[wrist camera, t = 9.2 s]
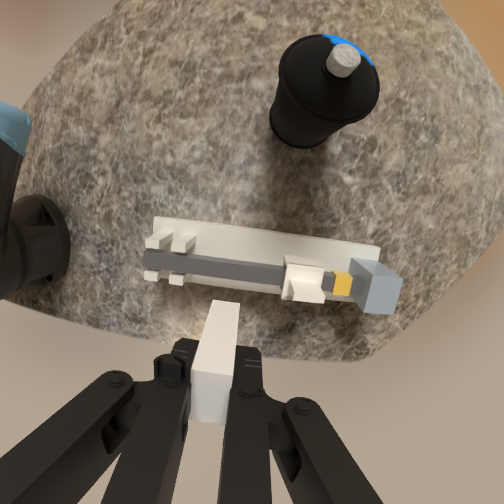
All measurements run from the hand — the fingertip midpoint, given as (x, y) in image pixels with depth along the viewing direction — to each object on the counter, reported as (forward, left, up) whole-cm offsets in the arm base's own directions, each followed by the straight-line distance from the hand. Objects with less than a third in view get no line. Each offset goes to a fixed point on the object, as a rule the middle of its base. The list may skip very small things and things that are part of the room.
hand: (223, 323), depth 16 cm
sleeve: (+7, -2, -18) cm, 20 cm away
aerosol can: (+5, +17, -23) cm, 29 cm away
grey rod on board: (+3, -2, -22) cm, 23 cm away
